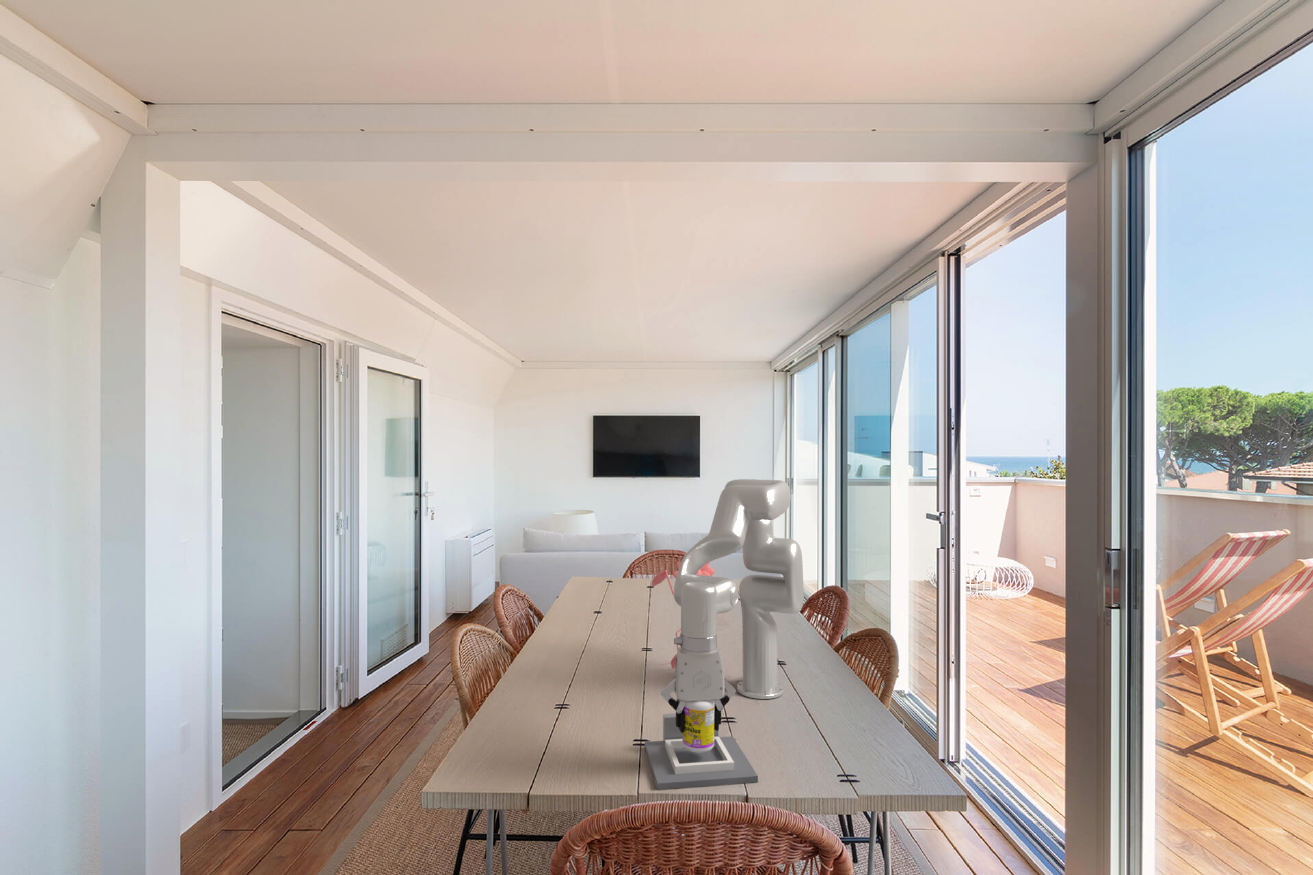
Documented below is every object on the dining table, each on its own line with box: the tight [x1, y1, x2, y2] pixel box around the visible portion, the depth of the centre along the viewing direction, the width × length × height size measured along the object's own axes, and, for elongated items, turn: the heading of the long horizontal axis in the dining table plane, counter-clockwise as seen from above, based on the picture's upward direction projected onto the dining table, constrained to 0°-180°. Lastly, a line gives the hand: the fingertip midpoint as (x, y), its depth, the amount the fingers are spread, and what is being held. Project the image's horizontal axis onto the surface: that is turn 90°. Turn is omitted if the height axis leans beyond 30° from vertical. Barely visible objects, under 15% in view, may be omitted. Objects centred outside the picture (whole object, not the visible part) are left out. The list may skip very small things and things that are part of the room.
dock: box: [644, 712, 759, 791], centre depth 131 cm, size 18×20×7 cm
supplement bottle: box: [683, 700, 715, 753], centre depth 131 cm, size 7×7×13 cm
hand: (698, 728), depth 131 cm, fingers closed on supplement bottle, 6 cm apart
